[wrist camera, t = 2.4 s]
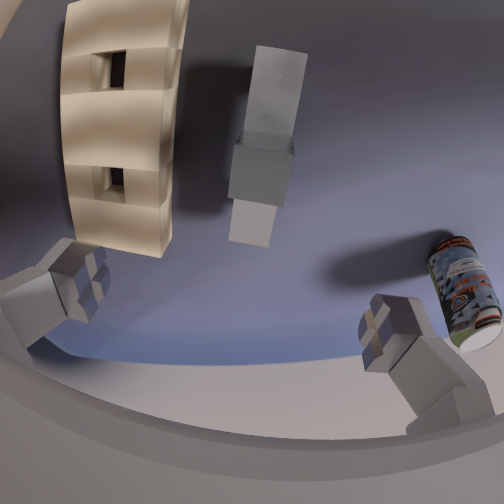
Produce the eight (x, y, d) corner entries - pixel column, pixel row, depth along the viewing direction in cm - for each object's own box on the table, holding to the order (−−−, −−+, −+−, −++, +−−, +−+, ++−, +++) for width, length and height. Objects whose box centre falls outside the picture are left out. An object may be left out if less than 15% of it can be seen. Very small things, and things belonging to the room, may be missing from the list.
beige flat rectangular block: (90, 7, 15) (68, 4, 12) (191, -6, 15) (177, -16, 13) (92, 224, 29) (77, 241, 27) (171, 237, 30) (160, 258, 27)
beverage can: (472, 228, 25) (527, 303, 15) (454, 279, 29) (492, 355, 20) (429, 227, 26) (481, 311, 16) (413, 281, 30) (447, 365, 20)
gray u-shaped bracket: (262, 52, 18) (250, 37, 10) (300, 58, 18) (316, 49, 10) (238, 204, 27) (219, 274, 19) (271, 210, 27) (265, 283, 19)
